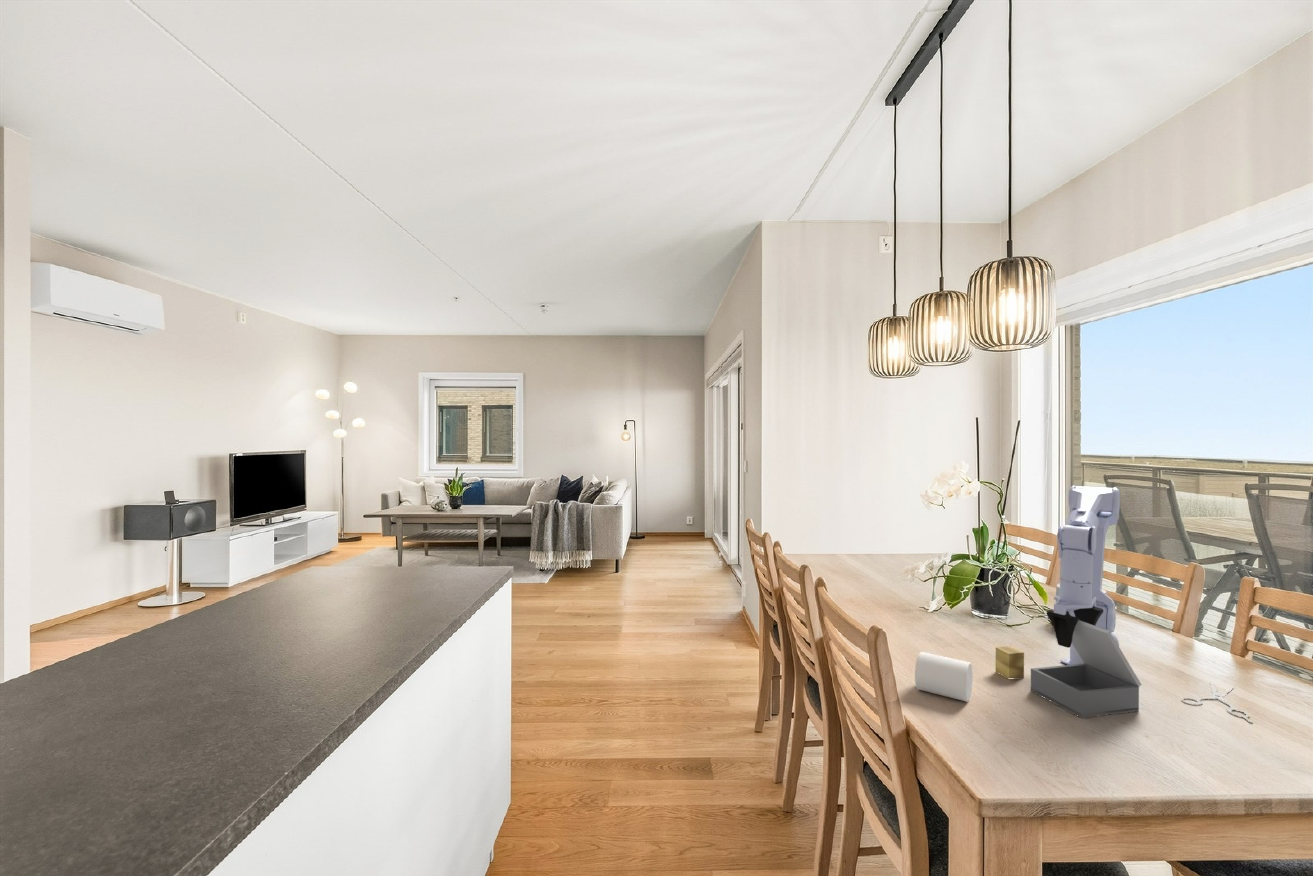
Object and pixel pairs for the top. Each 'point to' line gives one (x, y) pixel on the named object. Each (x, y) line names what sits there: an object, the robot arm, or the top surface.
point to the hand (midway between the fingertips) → (1074, 642)
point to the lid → (1102, 652)
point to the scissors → (1216, 697)
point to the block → (1010, 662)
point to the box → (1085, 690)
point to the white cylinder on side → (944, 676)
